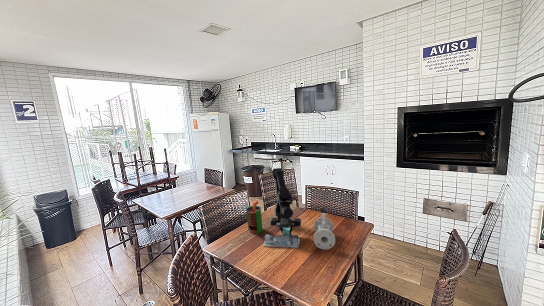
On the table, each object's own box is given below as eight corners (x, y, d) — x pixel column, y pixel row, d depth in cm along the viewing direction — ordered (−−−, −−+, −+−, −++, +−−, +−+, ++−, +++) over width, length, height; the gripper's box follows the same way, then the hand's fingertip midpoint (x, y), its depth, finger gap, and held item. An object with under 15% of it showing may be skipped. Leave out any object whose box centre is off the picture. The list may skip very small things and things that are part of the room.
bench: (266, 239, 138) (265, 232, 137) (299, 240, 133) (299, 233, 133) (263, 246, 130) (262, 238, 129) (298, 247, 126) (298, 240, 125)
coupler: (282, 239, 136) (281, 232, 136) (284, 232, 144) (283, 226, 143) (289, 239, 135) (289, 232, 135) (290, 233, 143) (290, 226, 142)
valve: (335, 250, 121) (335, 224, 119) (313, 249, 124) (312, 224, 121) (333, 230, 142) (332, 208, 140) (314, 229, 145) (313, 208, 143)
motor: (245, 232, 148) (243, 203, 145) (252, 226, 156) (250, 199, 153) (258, 234, 143) (256, 205, 140) (265, 228, 151) (263, 200, 148)
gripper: (268, 216, 131) (269, 240, 133) (299, 217, 127) (300, 242, 130) (271, 208, 142) (273, 231, 144) (300, 209, 138) (301, 232, 140)
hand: (286, 234), depth 139 cm, fingers closed on coupler, 4 cm apart
